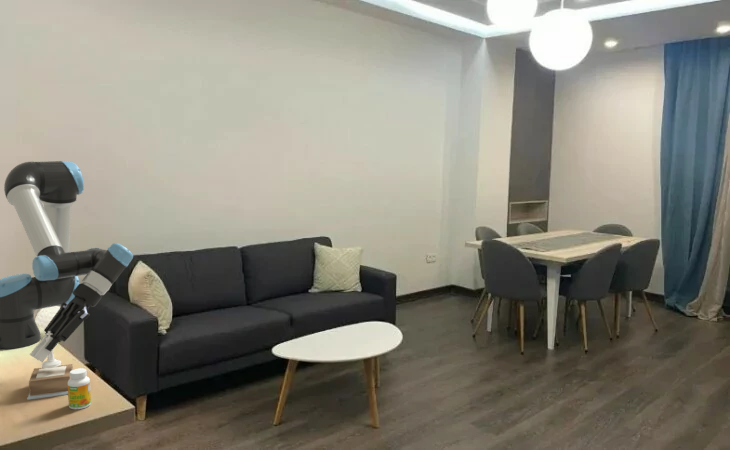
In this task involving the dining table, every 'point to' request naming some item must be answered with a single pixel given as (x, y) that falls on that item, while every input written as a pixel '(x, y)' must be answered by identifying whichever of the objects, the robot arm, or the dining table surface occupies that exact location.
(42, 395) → the pale blue board
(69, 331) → the robot arm
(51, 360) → the chess piece
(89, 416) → the dining table surface
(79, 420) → the dining table surface
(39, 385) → the walnut plinth
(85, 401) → the supplement bottle
